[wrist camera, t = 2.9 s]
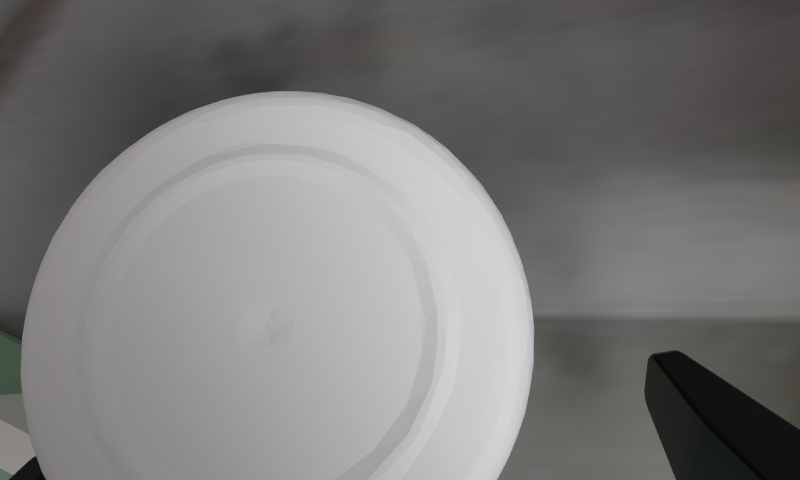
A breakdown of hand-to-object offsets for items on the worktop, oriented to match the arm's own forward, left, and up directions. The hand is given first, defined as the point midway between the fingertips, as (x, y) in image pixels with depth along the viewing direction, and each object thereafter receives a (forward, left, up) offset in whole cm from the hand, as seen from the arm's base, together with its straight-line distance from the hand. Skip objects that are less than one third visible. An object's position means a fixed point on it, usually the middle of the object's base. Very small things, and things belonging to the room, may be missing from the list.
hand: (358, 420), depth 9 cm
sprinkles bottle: (+1, -1, -9) cm, 9 cm away
